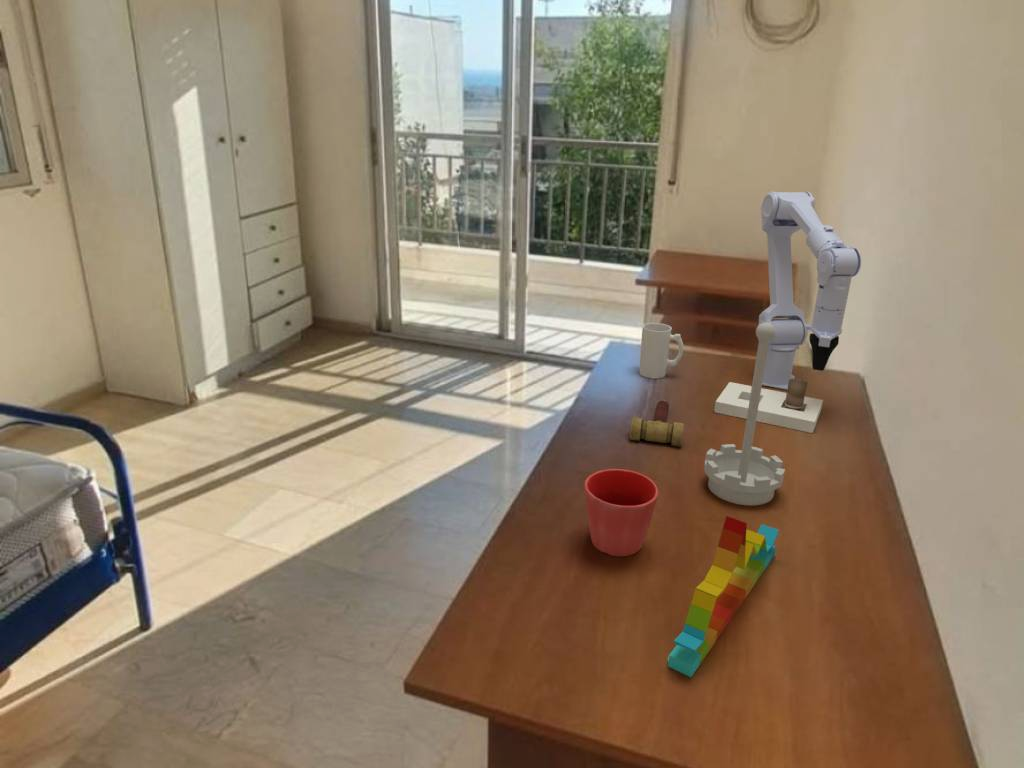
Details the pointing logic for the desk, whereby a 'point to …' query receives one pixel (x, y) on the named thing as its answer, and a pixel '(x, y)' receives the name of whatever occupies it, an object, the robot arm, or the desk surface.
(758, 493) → the flag stand
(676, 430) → the gavel
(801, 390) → the peg
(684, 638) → the chart
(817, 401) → the board
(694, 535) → the desk surface
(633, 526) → the flower pot
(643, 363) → the mug
